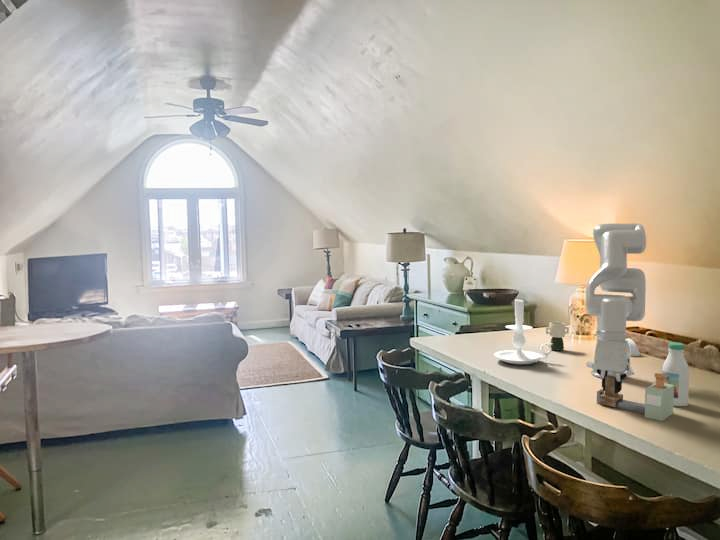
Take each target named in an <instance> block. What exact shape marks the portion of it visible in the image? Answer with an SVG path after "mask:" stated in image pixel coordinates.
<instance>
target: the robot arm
mask: <svg viewBox="0 0 720 540" xmlns="http://www.w3.org/2000/svg"><path fill="white" fill-rule="evenodd" d="M592 232H593V233H592V235H593V236H592V237H593V240H594V244H595V246H596V249H597V251H598V253H599V258H600V259H599V269H598V270H597V271H595V273H593V275H592V276H591V277H590V279H589V280H588V283H587V285H586V289H585V311H586V313H587V314H588V315H589V316H591V317H596V331H595V334H596V344H595V349H594V359H593V362H592V361H587V362H586V365H585V366H586V367H587V368H590V369H592V370H591V375H592V376H595V377H597V378H600V379H601V387H602V389H603V391H604V392H605V377H606V376H609V375H610V376H616V381H615V390H614V392H615V393H618V394H620V392H621V391H622V389H623V382H622V381H623V380H624V379H627V377H630V376H632V375H634V374H635V373H634V371H633V369H632V366H631V356H630V347H629V345H628V341H626V339H627V337H626V336H627V322H640V321H642V320H643V319H644V318H645V316H646V315H645V314H646V289H647V288H646V286H647V285H646V283H647V282H646V275H645V272H644V270H642V269H640V268H635V267H628V261H627V260H628V254H631V255H632V254H633V255H636V254H637V255H640V254H643V253H644V252H645V250H646V249H647V235H646V229H645V227H644V225H643V224H641V223H601V224H597V225H596V226H594V228H593V231H592ZM598 286H600V289H601V290H602V291H604V292H606V293H622V294H602V293H601V294H600V293H599V294H598V293H595V292H596V288H597V287H598ZM625 293H627V294H628V293H629V294H631V296H629V295H623V294H625Z"/></svg>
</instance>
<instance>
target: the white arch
mask: <svg viewBox="0 0 720 540" xmlns="http://www.w3.org/2000/svg"><path fill="white" fill-rule="evenodd" d="M626 341H628V346H629V353H630V358H631V357H634V358H635V357H640V356H641V354H640V349H639V347H638V345H637V344H636V343H635V341H634V340H633V339H631V338H627V337H626Z"/></svg>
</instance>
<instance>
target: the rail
mask: <svg viewBox="0 0 720 540" xmlns="http://www.w3.org/2000/svg"><path fill="white" fill-rule="evenodd" d="M603 393H605V391H603V388H602V389H599V390H597V391H596V404H598V405H600V404H599V403H600V395H601V394H603ZM601 405H603V404H601ZM603 406H604V405H603ZM610 407H612V406H610ZM615 409H621V410H625V411H629V412H634V413H637V414H638V413H639V414H644V415H645V403H642V402H637V401H632V400H626V399H623V400H622V399H619V400H618V401H616V407H615Z"/></svg>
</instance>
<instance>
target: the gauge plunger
mask: <svg viewBox="0 0 720 540" xmlns="http://www.w3.org/2000/svg"><path fill="white" fill-rule="evenodd" d="M654 378H655V383H656V388H662V389H664V383H665V378H666V375H665V374H662V373H661V372H660V373H659V372H656V373H654Z"/></svg>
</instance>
